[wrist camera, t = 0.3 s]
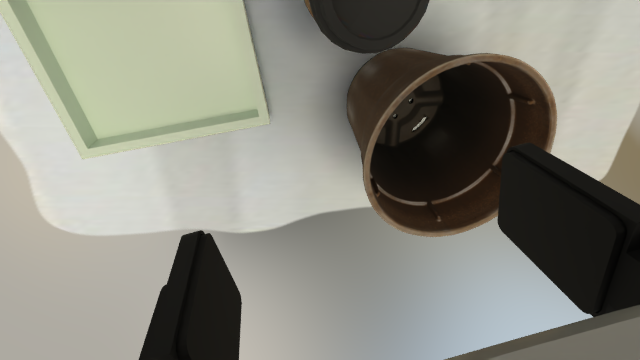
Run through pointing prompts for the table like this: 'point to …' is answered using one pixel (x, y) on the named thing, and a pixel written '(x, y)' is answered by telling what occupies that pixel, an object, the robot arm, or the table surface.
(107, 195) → the table surface
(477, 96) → the plant pot
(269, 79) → the table surface
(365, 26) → the coffee cup
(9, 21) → the tray
